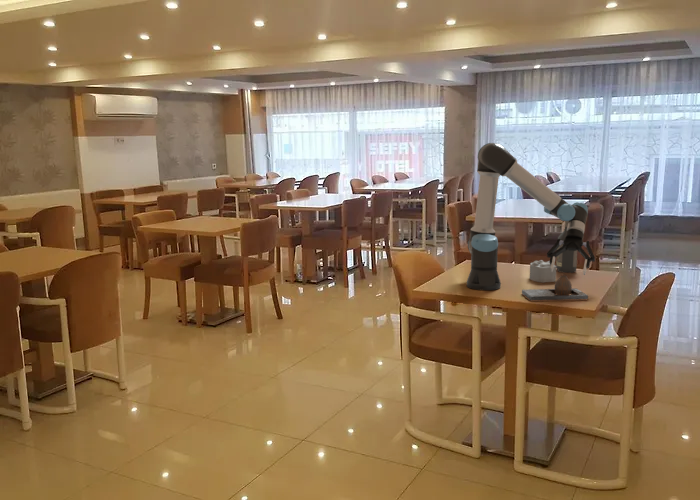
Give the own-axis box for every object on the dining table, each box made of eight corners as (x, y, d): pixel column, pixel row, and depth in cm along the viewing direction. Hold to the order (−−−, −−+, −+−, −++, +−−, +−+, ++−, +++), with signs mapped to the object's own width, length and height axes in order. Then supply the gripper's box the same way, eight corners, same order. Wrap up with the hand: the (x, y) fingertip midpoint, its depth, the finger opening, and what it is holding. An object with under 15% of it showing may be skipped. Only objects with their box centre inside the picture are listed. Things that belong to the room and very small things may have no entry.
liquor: (574, 269, 319) (577, 211, 313) (576, 272, 310) (579, 213, 305) (555, 268, 321) (558, 210, 315) (557, 272, 312) (560, 213, 307)
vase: (571, 294, 266) (572, 274, 265) (570, 298, 260) (571, 277, 258) (555, 293, 269) (556, 273, 267) (553, 296, 263) (554, 276, 261)
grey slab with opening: (530, 301, 258) (531, 296, 257) (521, 294, 270) (522, 289, 269) (587, 299, 259) (587, 295, 258) (576, 292, 270) (576, 288, 270)
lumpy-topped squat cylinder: (539, 282, 290) (540, 264, 289) (524, 277, 302) (524, 259, 301) (558, 281, 293) (559, 263, 291) (542, 275, 305) (543, 258, 304)
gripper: (604, 239, 280) (598, 279, 269) (547, 235, 291) (539, 273, 281) (604, 229, 274) (597, 269, 264) (546, 226, 285) (537, 264, 275)
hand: (567, 271), depth 272 cm, fingers open, 13 cm apart
